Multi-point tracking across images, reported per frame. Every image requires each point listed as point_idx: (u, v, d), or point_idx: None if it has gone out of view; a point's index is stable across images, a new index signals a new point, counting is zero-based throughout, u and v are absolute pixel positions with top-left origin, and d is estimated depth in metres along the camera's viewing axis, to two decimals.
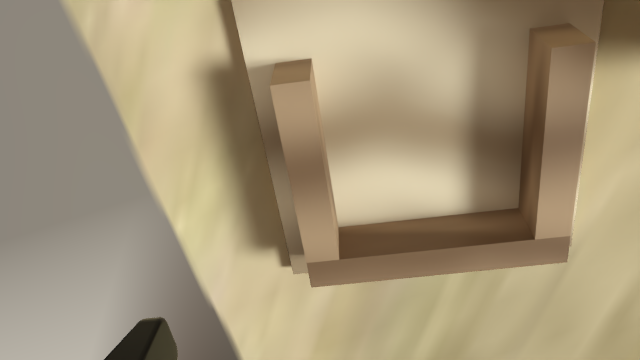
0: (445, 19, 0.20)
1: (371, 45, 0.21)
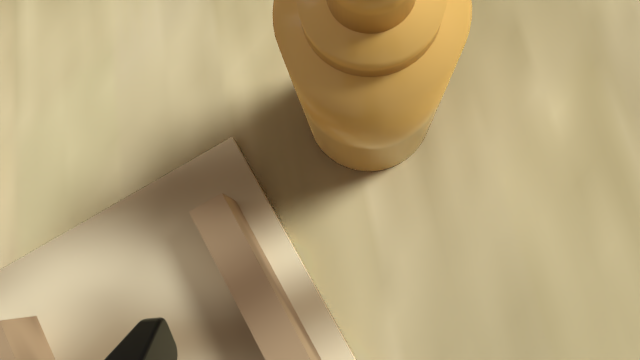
0: (135, 238, 0.24)
1: (83, 284, 0.23)
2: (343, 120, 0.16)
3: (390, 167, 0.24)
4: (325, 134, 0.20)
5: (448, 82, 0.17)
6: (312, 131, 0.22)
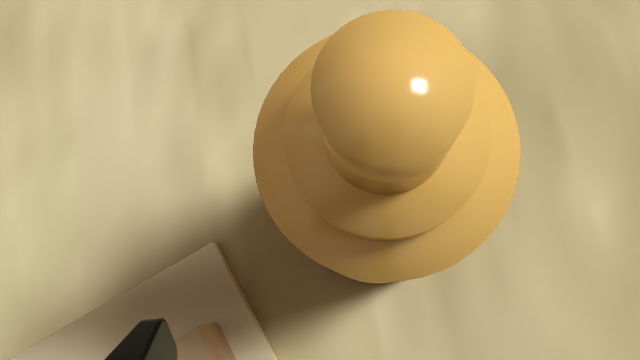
0: None
1: None
2: (347, 276, 0.13)
3: None
4: None
5: None
6: None
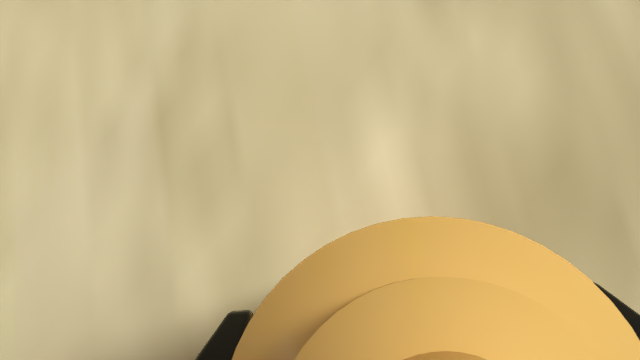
0: None
1: None
2: None
3: None
4: None
5: None
6: None
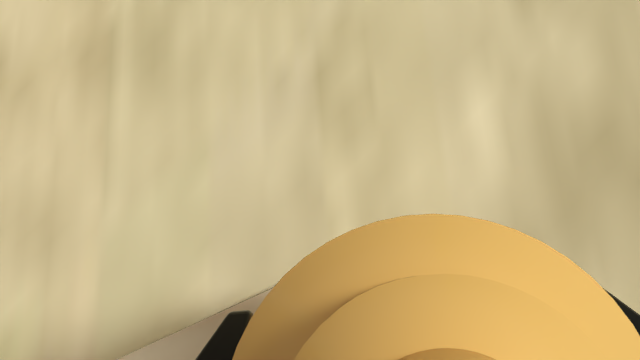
0: None
1: None
2: None
3: None
4: None
5: None
6: None
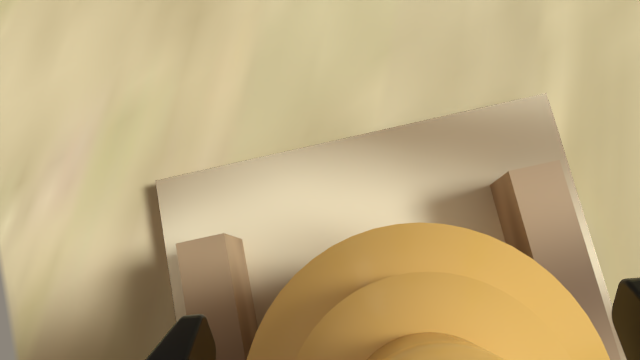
0: (389, 182, 0.18)
1: (310, 218, 0.18)
2: None
3: None
4: None
5: None
6: None
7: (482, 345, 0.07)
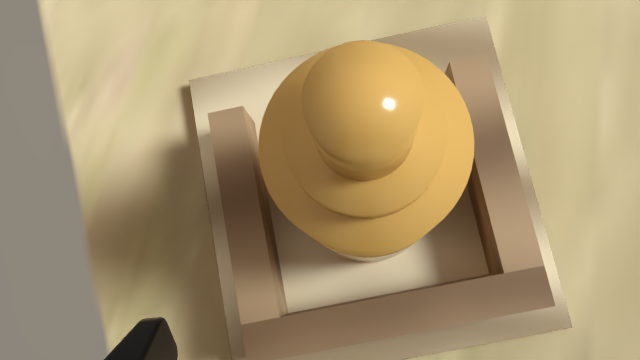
0: None
1: None
2: (335, 249, 0.15)
3: None
4: None
5: None
6: None
7: None
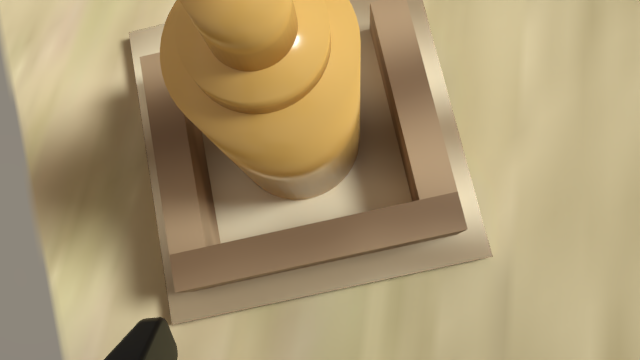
0: None
1: None
2: (241, 156, 0.16)
3: None
4: (238, 166, 0.19)
5: (353, 114, 0.17)
6: None
7: None
